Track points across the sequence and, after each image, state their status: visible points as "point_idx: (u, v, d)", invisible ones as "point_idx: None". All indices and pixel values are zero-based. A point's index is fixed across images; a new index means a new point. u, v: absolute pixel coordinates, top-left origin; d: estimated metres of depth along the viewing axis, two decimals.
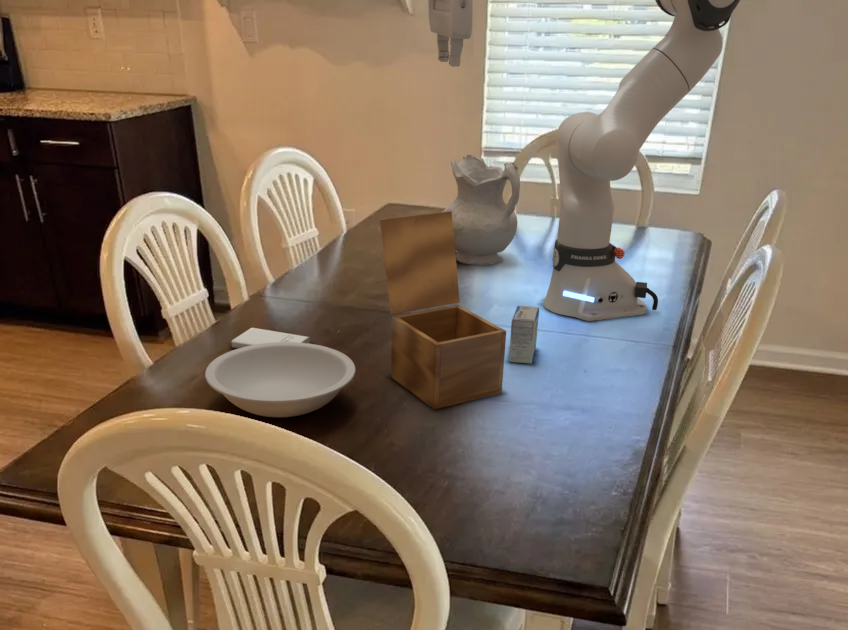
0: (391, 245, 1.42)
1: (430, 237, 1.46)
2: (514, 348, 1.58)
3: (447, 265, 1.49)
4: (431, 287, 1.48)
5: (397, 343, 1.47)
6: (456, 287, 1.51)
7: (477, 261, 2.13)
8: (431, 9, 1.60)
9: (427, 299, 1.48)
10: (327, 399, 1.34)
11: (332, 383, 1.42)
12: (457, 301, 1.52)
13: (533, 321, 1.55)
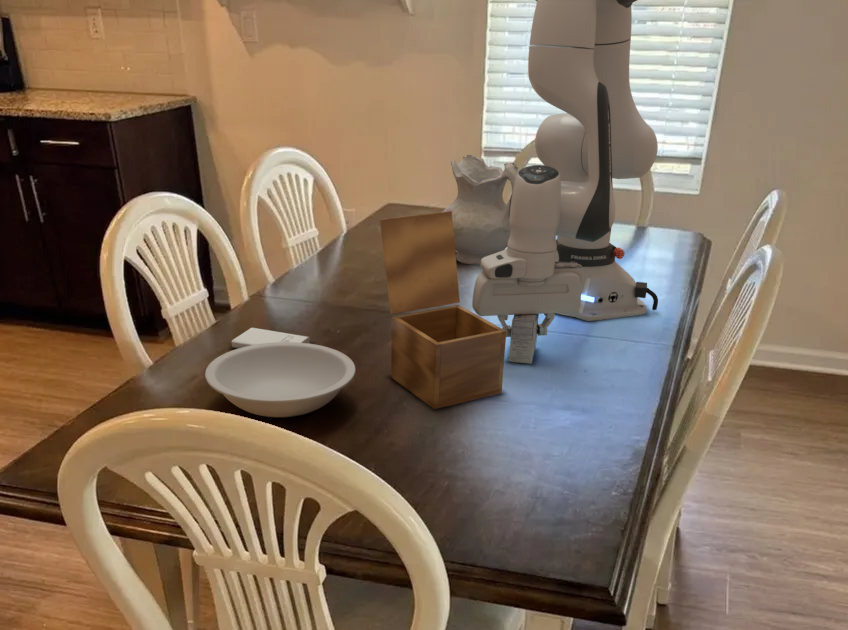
0: (391, 245, 1.42)
1: (430, 237, 1.46)
2: (514, 348, 1.58)
3: (447, 265, 1.49)
4: (431, 287, 1.48)
5: (397, 343, 1.47)
6: (456, 287, 1.51)
7: (477, 261, 2.13)
8: (487, 296, 1.53)
9: (427, 299, 1.48)
10: (327, 399, 1.34)
11: (332, 383, 1.42)
12: (457, 301, 1.52)
13: (533, 321, 1.55)
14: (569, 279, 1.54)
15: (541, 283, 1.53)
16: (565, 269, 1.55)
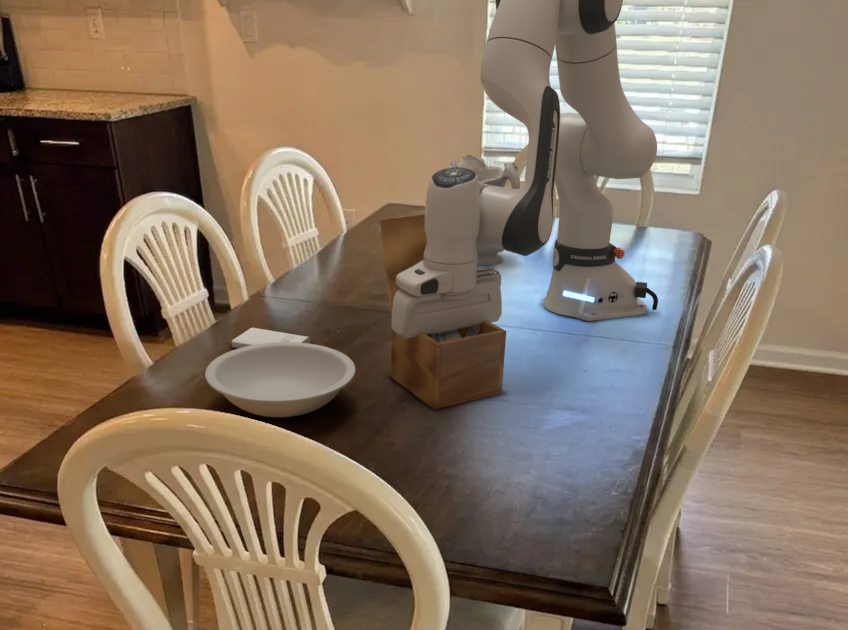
0: (391, 245, 1.42)
1: None
2: None
3: None
4: None
5: (397, 343, 1.47)
6: None
7: (477, 261, 2.13)
8: (412, 316, 1.37)
9: None
10: (327, 399, 1.34)
11: (332, 383, 1.42)
12: None
13: None
14: (490, 287, 1.43)
15: (465, 295, 1.40)
16: (484, 277, 1.43)
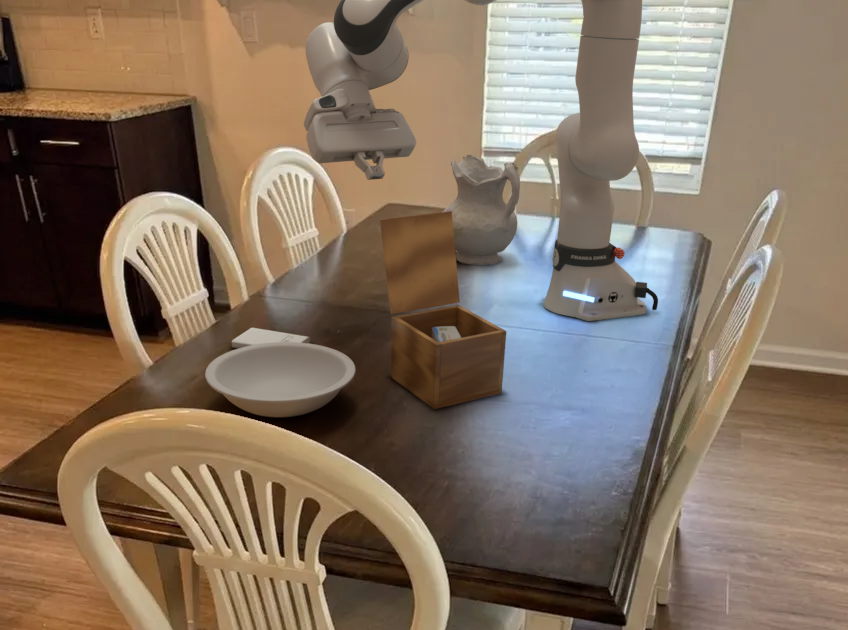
0: (391, 245, 1.42)
1: (430, 237, 1.46)
2: None
3: (447, 265, 1.49)
4: (431, 287, 1.48)
5: (397, 343, 1.47)
6: (456, 287, 1.51)
7: (477, 261, 2.13)
8: (323, 131, 1.48)
9: (427, 299, 1.48)
10: (327, 399, 1.34)
11: (332, 383, 1.42)
12: (457, 301, 1.52)
13: None
14: (392, 115, 1.56)
15: (368, 114, 1.52)
16: None
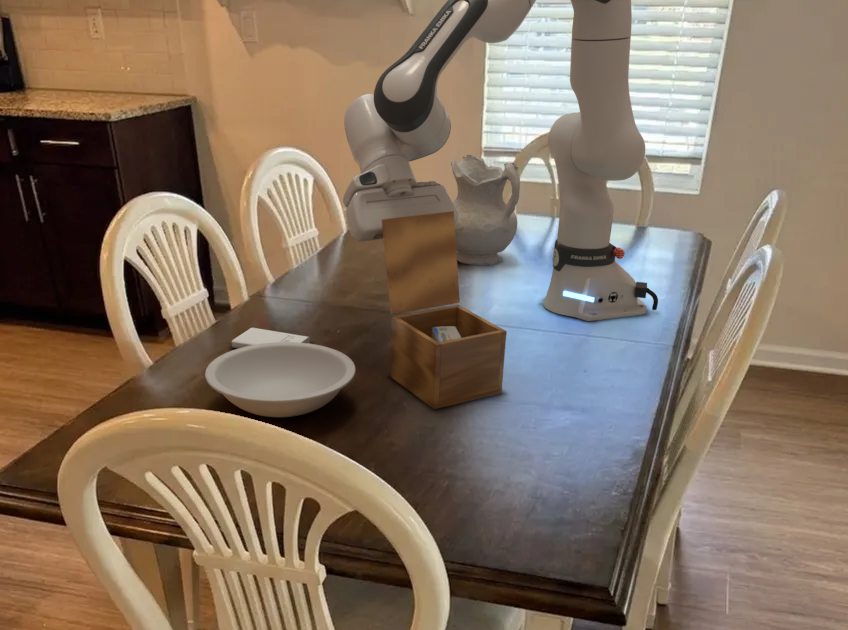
0: (392, 245, 1.42)
1: (431, 237, 1.45)
2: None
3: (448, 265, 1.49)
4: (431, 288, 1.48)
5: (397, 343, 1.47)
6: (456, 287, 1.51)
7: (477, 261, 2.13)
8: (363, 210, 1.43)
9: (427, 299, 1.48)
10: (327, 399, 1.34)
11: (332, 383, 1.42)
12: (457, 301, 1.52)
13: None
14: (434, 189, 1.50)
15: (410, 190, 1.47)
16: None
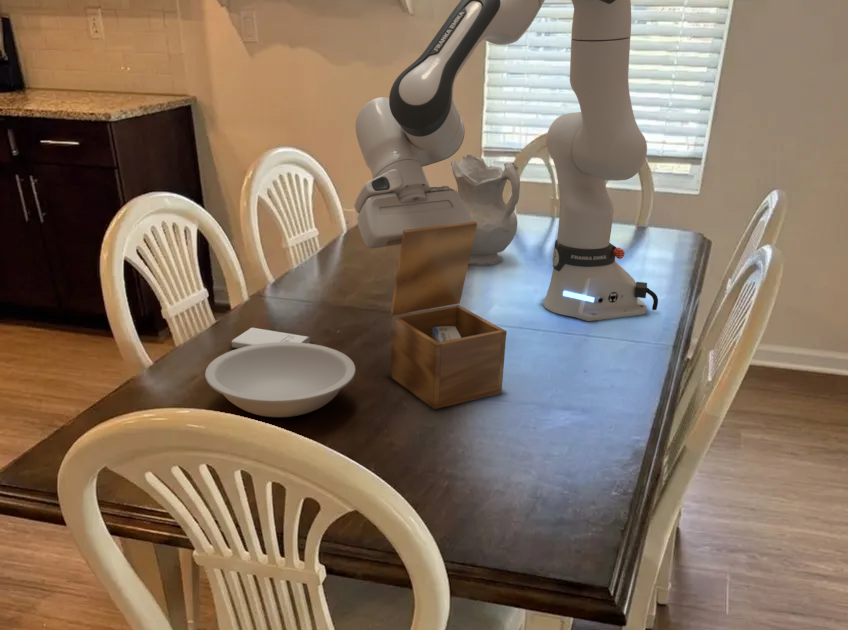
0: (408, 255, 1.38)
1: (449, 247, 1.42)
2: None
3: (457, 271, 1.46)
4: (436, 291, 1.47)
5: (397, 343, 1.47)
6: (460, 290, 1.50)
7: (477, 261, 2.13)
8: (376, 216, 1.39)
9: (429, 301, 1.48)
10: (327, 399, 1.34)
11: (332, 383, 1.42)
12: (457, 302, 1.52)
13: None
14: (447, 194, 1.47)
15: (423, 195, 1.43)
16: None
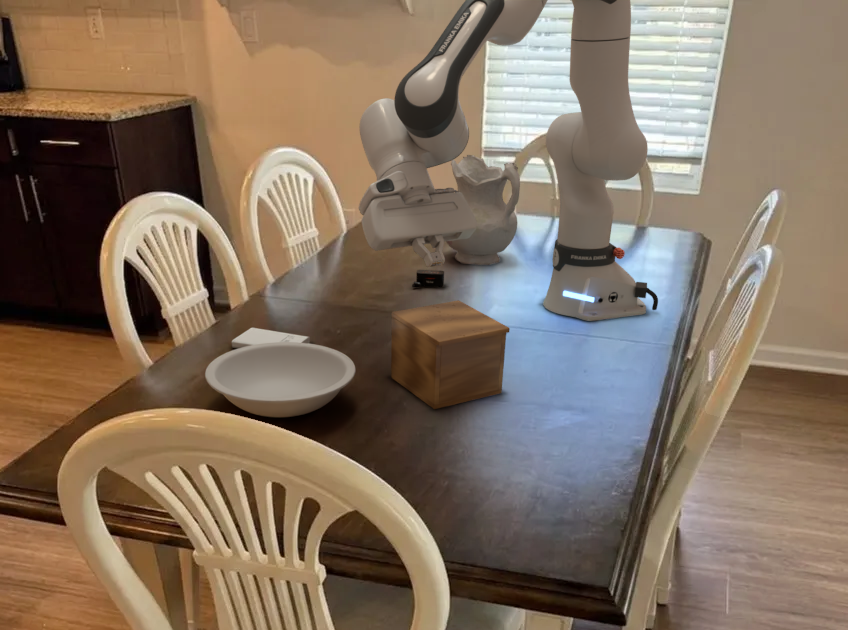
0: None
1: None
2: None
3: None
4: None
5: (397, 343, 1.47)
6: None
7: (477, 261, 2.13)
8: (380, 218, 1.38)
9: None
10: (327, 399, 1.34)
11: (332, 383, 1.42)
12: None
13: None
14: (452, 196, 1.46)
15: (427, 197, 1.42)
16: None
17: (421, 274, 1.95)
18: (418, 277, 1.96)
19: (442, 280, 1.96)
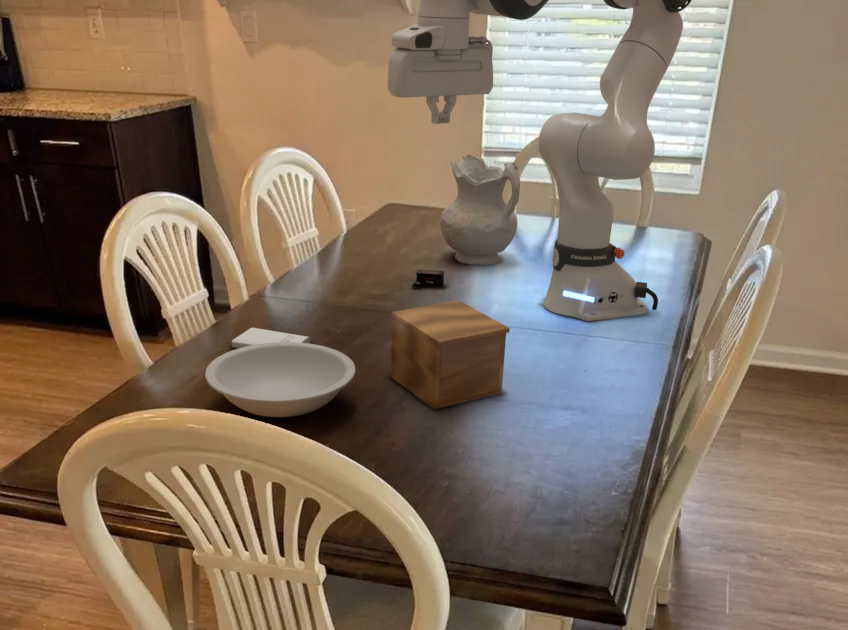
0: None
1: None
2: None
3: None
4: None
5: (397, 343, 1.47)
6: None
7: (477, 261, 2.13)
8: (407, 72, 1.44)
9: None
10: (327, 399, 1.34)
11: (332, 383, 1.42)
12: None
13: None
14: (482, 54, 1.49)
15: (458, 57, 1.46)
16: (476, 45, 1.50)
17: (421, 274, 1.95)
18: (418, 277, 1.96)
19: (442, 280, 1.96)
